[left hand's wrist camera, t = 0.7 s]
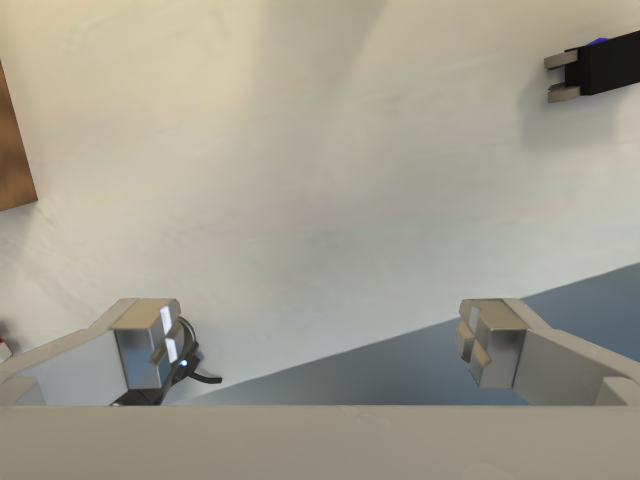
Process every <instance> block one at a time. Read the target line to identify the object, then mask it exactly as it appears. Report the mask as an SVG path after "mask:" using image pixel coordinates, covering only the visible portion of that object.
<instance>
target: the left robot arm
mask: <svg viewBox="0 0 640 480" xmlns="http://www.w3.org/2000/svg"><path fill="white" fill-rule="evenodd" d="M180 314H181V310H180V305H179V302H178V301H177V300H176V299H151V298H142V299H141V298H124V299H120V300H119V301H117V302H116V303H115V304H114V305H113V306H112V307H111V308H110V309H109V310H108V311H107V312H105V313H104V314H103V315H102V316H101V317H100V318H99V319H98V320H97V321H96V322H95V323H94V324H92V325H91V326H90V327H89V328H88V329H81V330H79V331H76V332H74V333H71V334H69V335H67V336H64V337H62V338H59V339H57V340H54V341H52V342H50V343H47V344H45V345H42V346H40V347H37V348H35V349H33V350H30V351H28V352H25V353H23V354H20V355H18V356H16V357H13V358H11V359H8V360H6V361H4V362H1V363H0V480H640V363H639V362H636V361H634V360H631V359H629V358H627V357H624V356H622V355H619V354H617V353H615V352H612V351H610V350H607V349H605V348H602V347H600V346H598V345H595V344H593V343H590V342H588V341H585V340H583V339H581V338H578V337H576V336H573V335H571V334H569V333H566V332H564V331H561V330H559V329H552V328H551V327H550V326H549V325H548V324H546V323H545V322H544V321H543V320H542V319H541V318H540V317H539V316H538V315H537V314H536V313H535V312H533V311H532V310H531V309H530V308H529V307H528V306H527V305H526V304H525V303H524V302H523V301H522V300H521V299H518V298H494V299H465V300H462V302H461V305H460V310H459V314H460V315H461V317H462V318H463V320H462V321H461V322H460V323H459V324H458V325H457V329H456V345H457V349H458V352H459V354H460V356H461V358H462V359H463V360H464V361H466V362H467V363H469V364H470V366H469V372H470V374H471V375H472V377H473V379H474V380H475V382H476V384H477V386H478V387H479V388H483V389H512V391H513V392H514V393H516V394H517V395H518V396H520V397H521V398H522V399H524V400H525V401H526V402H528V403H529V404H530V405H532V406H109V405H110V404H111V403H113V402H114V401H115V400H117V399H118V398H119V397H121V396H122V395H123V394H125V393H126V392H127V391H128V389H156V388H161V387H162V386H163V384H164V382H165V380H166V379H167V377H168V375H169V374H170V372H171V366H170V364H171V363H173V362H174V361H176V360H177V359H178V358H179V356H180V354H181V352H182V349H183V345H184V328H183V326H182V324H181V323H180V322H179V321H178V320H177V318H178V317H179V315H180Z"/></svg>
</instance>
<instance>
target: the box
mask: <svg viewBox="0 0 640 480" xmlns="http://www.w3.org/2000/svg"><path fill="white" fill-rule="evenodd" d="M37 200H38V199H37V195H36V191H35V188H34V184H33V180H32V177H31V173H30V169H29V165H28V162H27V158H26V154H25V151H24V147H23V143H22V139H21V136H20V132H19V128H18V125H17V121H16V117H15V113H14V110H13V106H12V102H11V99H10V95H9V91H8V87H7V84H6V80H5V76H4V73H3V69H2V65H1V61H0V211H4V210H7V209H10V208H14V207H17V206H20V205H24V204H27V203H30V202H34V201H37Z"/></svg>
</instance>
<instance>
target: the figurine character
mask: <svg viewBox="0 0 640 480" xmlns="http://www.w3.org/2000/svg"><path fill="white" fill-rule="evenodd" d="M564 51H565V53H561V54H558V55H554V56H551V57H548V58H545V59H544V65H545V68H547V69H549V70H553V69H556V68H559V67H563V66H565V82H562V83H559V84H556V85H552V86H551V87H550V88H549V89H548V90H551V91H552V92H549V93H548V102H549V103H553V102H560V101H565V100H569V99H573V98H576V97H579V96H586V95H588V96H591V95H594V94H598V93H602V92H605V91H609V90H613V89H616V88H620V87H624V86H627V85H631V84H635V83H638V82H640V30H639V31H636V32H632V33H629V34H626V35H622V36H619V37H615V38H612V39H606V38H598V39H597V40H595V41H593V42H591V43H589V44H587V45H586V46H581V47H577V48H572V49H568V50H564Z"/></svg>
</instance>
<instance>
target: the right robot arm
mask: <svg viewBox="0 0 640 480" xmlns="http://www.w3.org/2000/svg"><path fill="white" fill-rule="evenodd" d="M177 320H178V321H179V322H180V323H181V324H182V326H183V328H184V345H183V349H182V352H181V354H180V356H179V358H178V359H177V360H176V361H174V362H173V363H171V364H170V366H171V372H170V374H169V375H168V377H167V379H166V380H165V382H164V384H163V386H162V387H161V388H156V389H128V391H127V392H126V393H125V394H123V395H122V396H121V397H119V398H118V399H117V400H115V401H114V402H113V403H111V404H110V405H109V406H160V405H161V403H162V401H163V399H164V398H165V396H166V394H167V392H168V390H169V389H170V387H171V386H173V385H174V384H176V383H178V382H179V381H181V380H182V379H184V378H185V377H187V376H189V377H191V378H193V379H196V380H198V381H200V382H204V383H209V384H216V383H221V382H222V379H221V378H208V377H204V376H201V375H199V374H196V373H194V371H195V369H196V367H197V365H198V363H199V361H200V360H199V359H198V358H197V357H196V356H195V355H194V353H195V351H196V349H197V347H198V345H199V344H198V343H197V342H196V341H195V333H194V331H193V329H192V327H191V326H190V324H189V323H188V322H187V321H185V320H184V319H182V318H181V317H178V318H177Z"/></svg>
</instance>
